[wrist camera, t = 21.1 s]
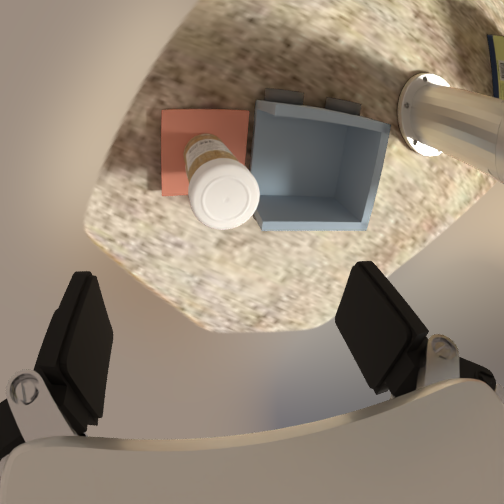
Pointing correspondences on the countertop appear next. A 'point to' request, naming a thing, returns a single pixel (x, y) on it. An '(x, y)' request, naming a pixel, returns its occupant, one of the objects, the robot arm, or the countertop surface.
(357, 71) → the countertop surface
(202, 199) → the sprinkles bottle
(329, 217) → the box
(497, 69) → the protein box
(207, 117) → the panel
